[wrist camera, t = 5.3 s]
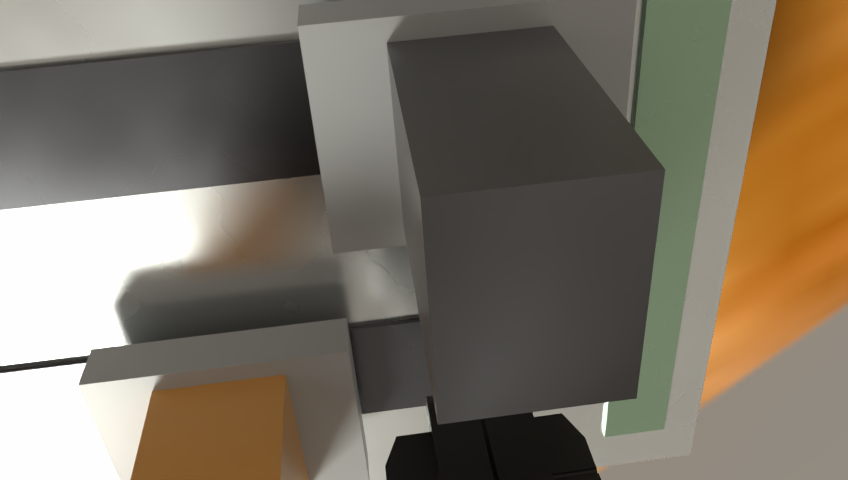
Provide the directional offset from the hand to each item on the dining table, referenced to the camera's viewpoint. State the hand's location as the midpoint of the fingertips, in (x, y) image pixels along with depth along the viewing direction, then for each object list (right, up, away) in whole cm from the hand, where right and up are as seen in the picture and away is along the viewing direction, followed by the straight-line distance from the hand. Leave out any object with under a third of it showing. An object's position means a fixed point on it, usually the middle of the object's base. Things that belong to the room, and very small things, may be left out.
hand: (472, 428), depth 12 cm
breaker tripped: (-4, 0, +1) cm, 4 cm away
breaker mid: (0, +5, -1) cm, 5 cm away
